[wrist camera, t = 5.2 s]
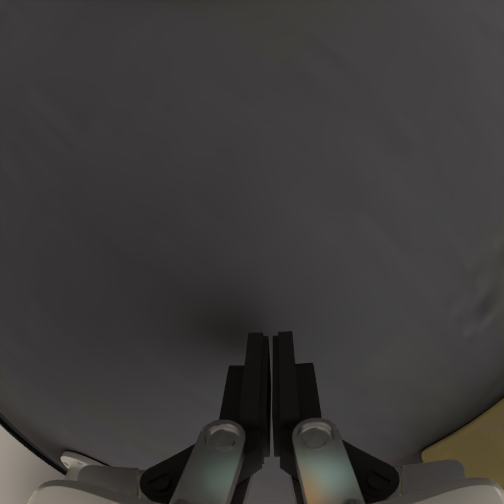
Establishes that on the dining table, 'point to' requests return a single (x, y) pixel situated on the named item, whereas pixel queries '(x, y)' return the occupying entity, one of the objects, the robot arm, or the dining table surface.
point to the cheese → (475, 446)
